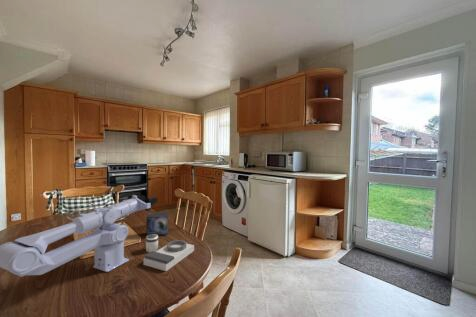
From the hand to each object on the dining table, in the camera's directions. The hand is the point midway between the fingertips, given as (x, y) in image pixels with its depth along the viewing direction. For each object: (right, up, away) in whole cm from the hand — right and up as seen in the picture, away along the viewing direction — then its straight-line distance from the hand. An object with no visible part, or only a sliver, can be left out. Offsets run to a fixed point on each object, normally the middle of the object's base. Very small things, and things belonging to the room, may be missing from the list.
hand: (150, 198), depth 101 cm
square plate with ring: (+13, -22, -11) cm, 28 cm away
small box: (-2, -21, +13) cm, 25 cm away
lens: (+3, -22, -5) cm, 23 cm away
